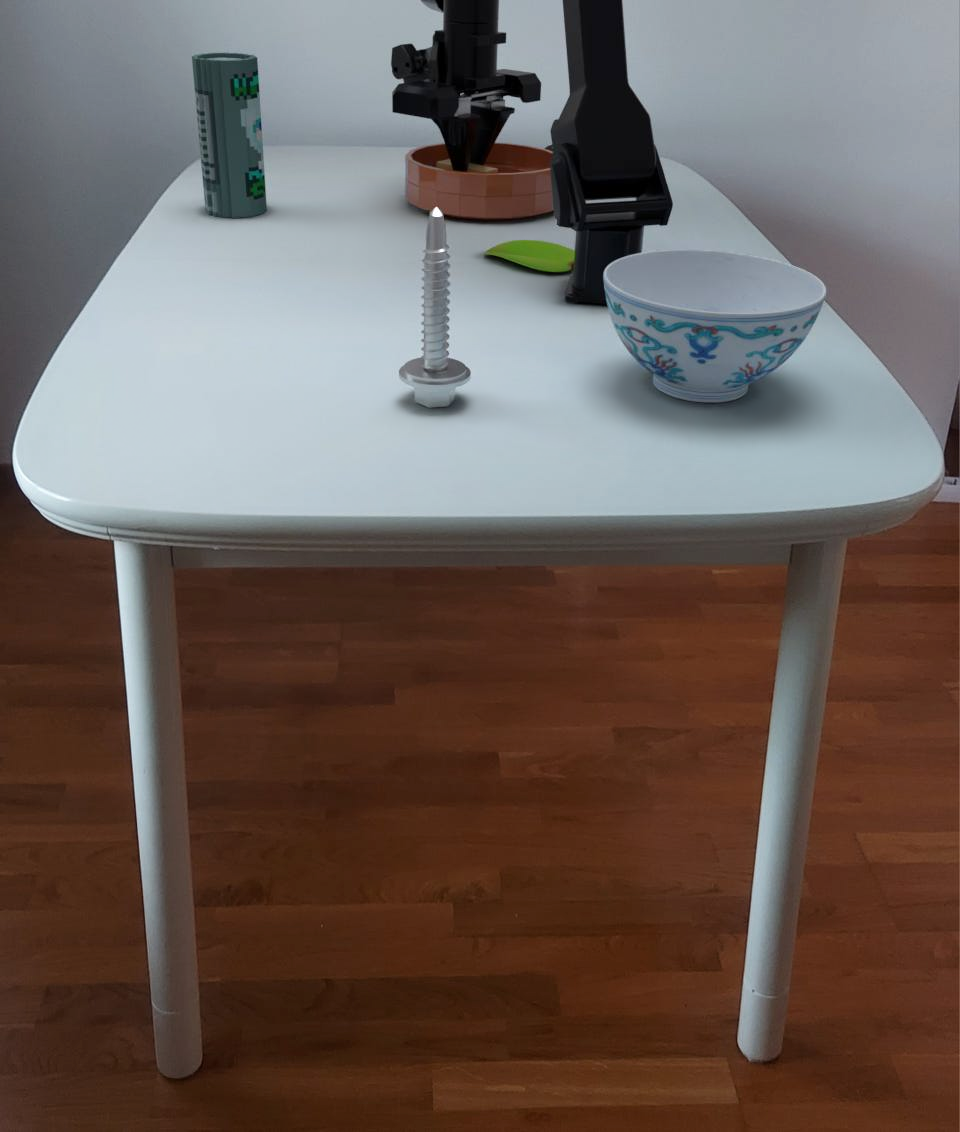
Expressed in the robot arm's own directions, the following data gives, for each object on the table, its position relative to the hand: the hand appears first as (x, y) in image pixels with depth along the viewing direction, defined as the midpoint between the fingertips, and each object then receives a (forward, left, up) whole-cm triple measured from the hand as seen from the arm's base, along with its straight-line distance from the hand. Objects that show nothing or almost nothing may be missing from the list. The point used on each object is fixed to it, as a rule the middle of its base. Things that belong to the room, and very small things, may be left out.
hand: (467, 176), depth 129 cm
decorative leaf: (-23, -10, -3) cm, 25 cm away
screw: (-58, -7, -3) cm, 59 cm away
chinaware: (-51, -25, -3) cm, 57 cm away
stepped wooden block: (-1, -2, -1) cm, 3 cm away
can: (-11, +23, -3) cm, 26 cm away
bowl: (-1, -2, -3) cm, 4 cm away
